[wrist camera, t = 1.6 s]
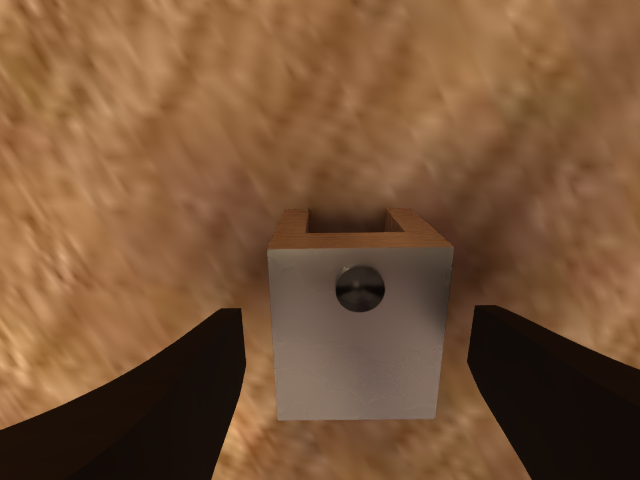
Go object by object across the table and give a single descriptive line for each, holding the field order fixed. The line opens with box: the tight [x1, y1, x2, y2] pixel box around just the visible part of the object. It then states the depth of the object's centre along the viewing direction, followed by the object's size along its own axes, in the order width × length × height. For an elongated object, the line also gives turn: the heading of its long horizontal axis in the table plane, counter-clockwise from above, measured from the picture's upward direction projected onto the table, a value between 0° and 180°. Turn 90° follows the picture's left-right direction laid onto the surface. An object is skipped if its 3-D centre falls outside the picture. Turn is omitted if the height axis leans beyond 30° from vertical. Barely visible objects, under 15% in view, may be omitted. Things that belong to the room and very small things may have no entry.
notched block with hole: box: [267, 208, 454, 420], centre depth 13 cm, size 5×6×5 cm
